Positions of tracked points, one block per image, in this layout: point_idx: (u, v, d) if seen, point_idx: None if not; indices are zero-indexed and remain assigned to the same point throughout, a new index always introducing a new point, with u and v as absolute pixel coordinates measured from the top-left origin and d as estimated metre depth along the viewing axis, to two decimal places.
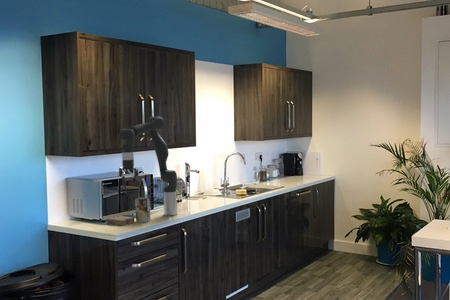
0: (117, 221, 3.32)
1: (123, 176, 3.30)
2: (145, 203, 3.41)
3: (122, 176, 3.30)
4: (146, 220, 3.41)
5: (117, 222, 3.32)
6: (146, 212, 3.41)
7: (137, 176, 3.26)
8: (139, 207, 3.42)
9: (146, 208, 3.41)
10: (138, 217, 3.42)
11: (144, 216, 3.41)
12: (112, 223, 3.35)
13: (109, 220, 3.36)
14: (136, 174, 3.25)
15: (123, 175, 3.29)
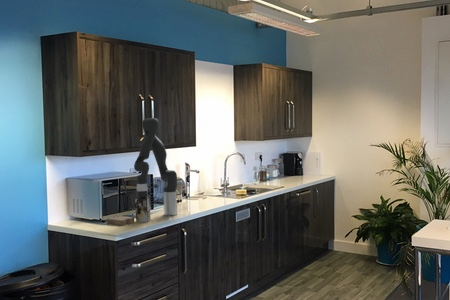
0: (117, 221, 3.32)
1: None
2: (145, 203, 3.41)
3: None
4: (146, 220, 3.41)
5: (118, 221, 3.32)
6: (146, 212, 3.41)
7: None
8: None
9: (146, 208, 3.41)
10: (138, 217, 3.42)
11: (144, 216, 3.41)
12: (112, 223, 3.35)
13: (109, 220, 3.36)
14: (150, 203, 3.50)
15: (140, 206, 3.41)
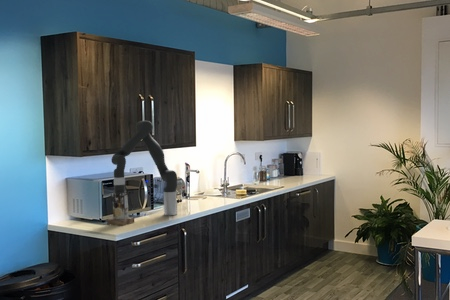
0: (118, 221, 3.32)
1: None
2: (122, 200, 3.34)
3: (116, 201, 3.34)
4: (123, 217, 3.34)
5: (118, 222, 3.32)
6: (123, 209, 3.34)
7: None
8: None
9: (123, 205, 3.34)
10: (115, 214, 3.36)
11: (121, 213, 3.34)
12: (112, 223, 3.34)
13: (109, 220, 3.36)
14: None
15: (117, 200, 3.34)
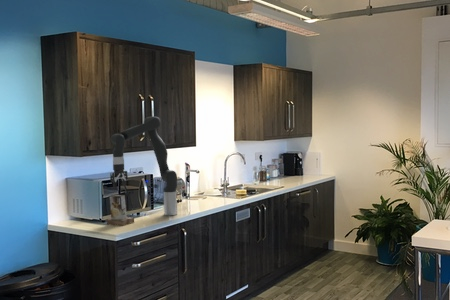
0: (117, 221, 3.32)
1: None
2: (119, 201, 3.32)
3: None
4: (121, 218, 3.33)
5: (118, 222, 3.32)
6: (120, 210, 3.32)
7: (125, 179, 3.43)
8: (113, 205, 3.34)
9: (120, 206, 3.32)
10: (113, 215, 3.35)
11: (119, 214, 3.33)
12: (112, 223, 3.34)
13: (109, 220, 3.36)
14: None
15: (116, 179, 3.34)
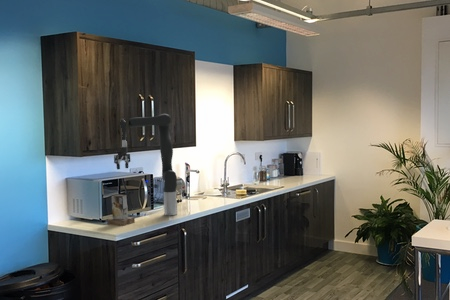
0: (118, 221, 3.32)
1: None
2: (121, 200, 3.33)
3: (119, 163, 3.51)
4: (122, 218, 3.34)
5: (118, 222, 3.32)
6: (122, 209, 3.33)
7: (128, 161, 3.61)
8: (115, 204, 3.35)
9: (122, 205, 3.33)
10: (114, 214, 3.36)
11: (120, 213, 3.34)
12: (112, 223, 3.35)
13: (109, 220, 3.36)
14: (129, 159, 3.61)
15: (120, 161, 3.52)
